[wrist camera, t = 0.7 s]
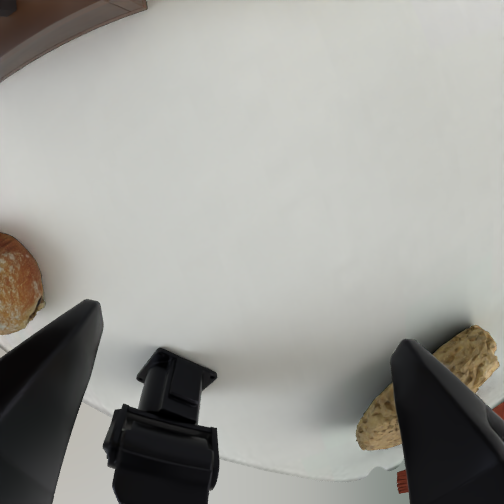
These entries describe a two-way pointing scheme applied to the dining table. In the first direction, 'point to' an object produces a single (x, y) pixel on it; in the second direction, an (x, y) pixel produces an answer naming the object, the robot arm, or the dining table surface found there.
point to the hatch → (36, 20)
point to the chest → (70, 33)
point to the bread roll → (18, 286)
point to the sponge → (451, 356)
